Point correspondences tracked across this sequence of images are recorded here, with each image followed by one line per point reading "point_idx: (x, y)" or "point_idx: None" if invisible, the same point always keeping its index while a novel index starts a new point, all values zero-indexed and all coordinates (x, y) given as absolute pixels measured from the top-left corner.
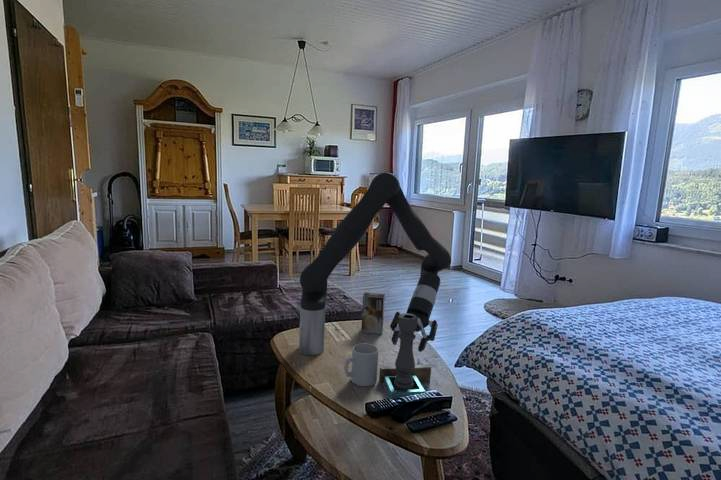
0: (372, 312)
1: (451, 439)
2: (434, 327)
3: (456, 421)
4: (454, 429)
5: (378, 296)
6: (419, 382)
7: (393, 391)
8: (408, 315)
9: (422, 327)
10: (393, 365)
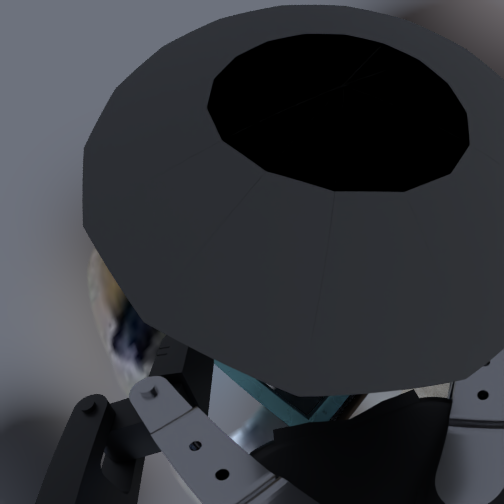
0: None
1: (101, 262)
2: (47, 487)
3: (109, 334)
4: (104, 299)
5: None
6: (256, 397)
7: None
8: (407, 136)
9: (176, 449)
10: (401, 391)
